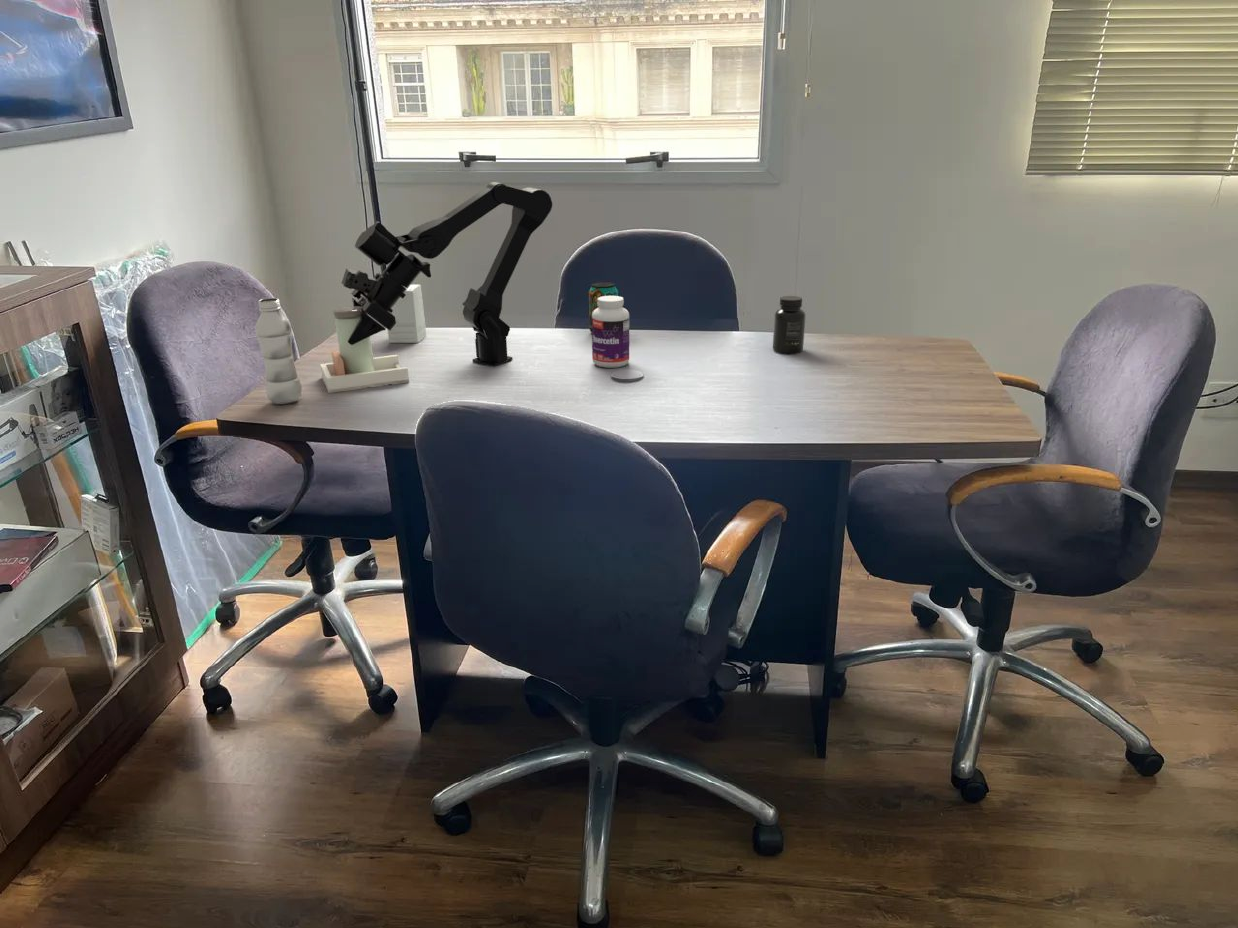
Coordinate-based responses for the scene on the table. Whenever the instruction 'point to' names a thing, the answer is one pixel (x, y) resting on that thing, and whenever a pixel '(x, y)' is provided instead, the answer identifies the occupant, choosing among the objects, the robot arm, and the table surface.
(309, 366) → the table surface
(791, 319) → the supplement bottle
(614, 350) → the pill bottle
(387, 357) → the white rectangular tray
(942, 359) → the table surface
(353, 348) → the ceramic jar
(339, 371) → the pusher paddle
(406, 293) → the supplement box
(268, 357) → the plastic bottle
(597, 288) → the beverage can
